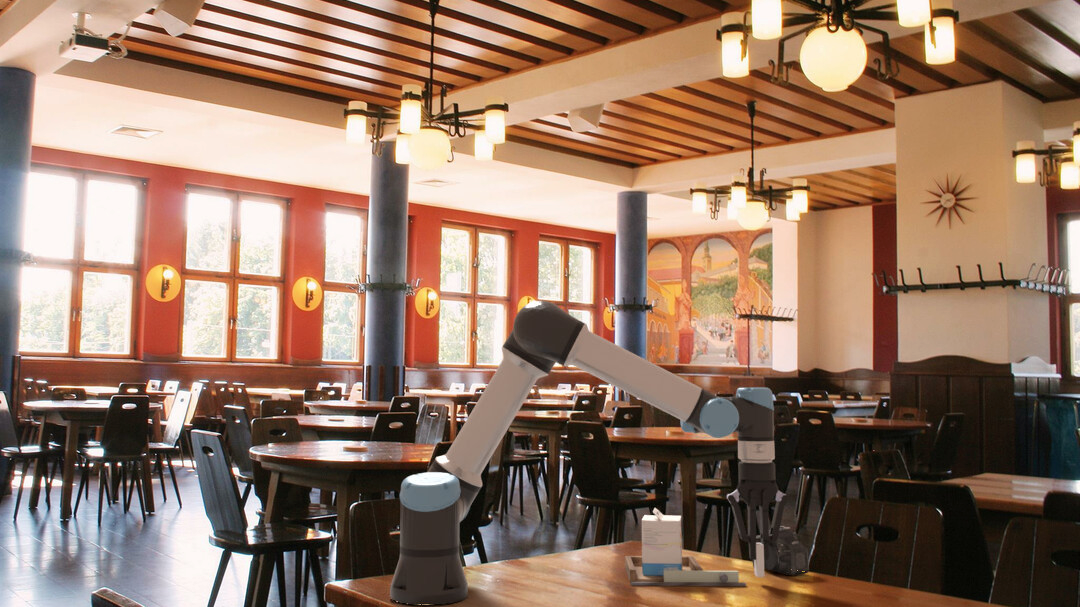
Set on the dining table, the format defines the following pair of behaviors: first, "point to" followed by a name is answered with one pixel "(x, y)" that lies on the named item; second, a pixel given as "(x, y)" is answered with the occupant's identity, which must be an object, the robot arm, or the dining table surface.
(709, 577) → the cream rectangular bar
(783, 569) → the camera
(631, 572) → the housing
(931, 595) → the dining table surface
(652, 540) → the ink box
